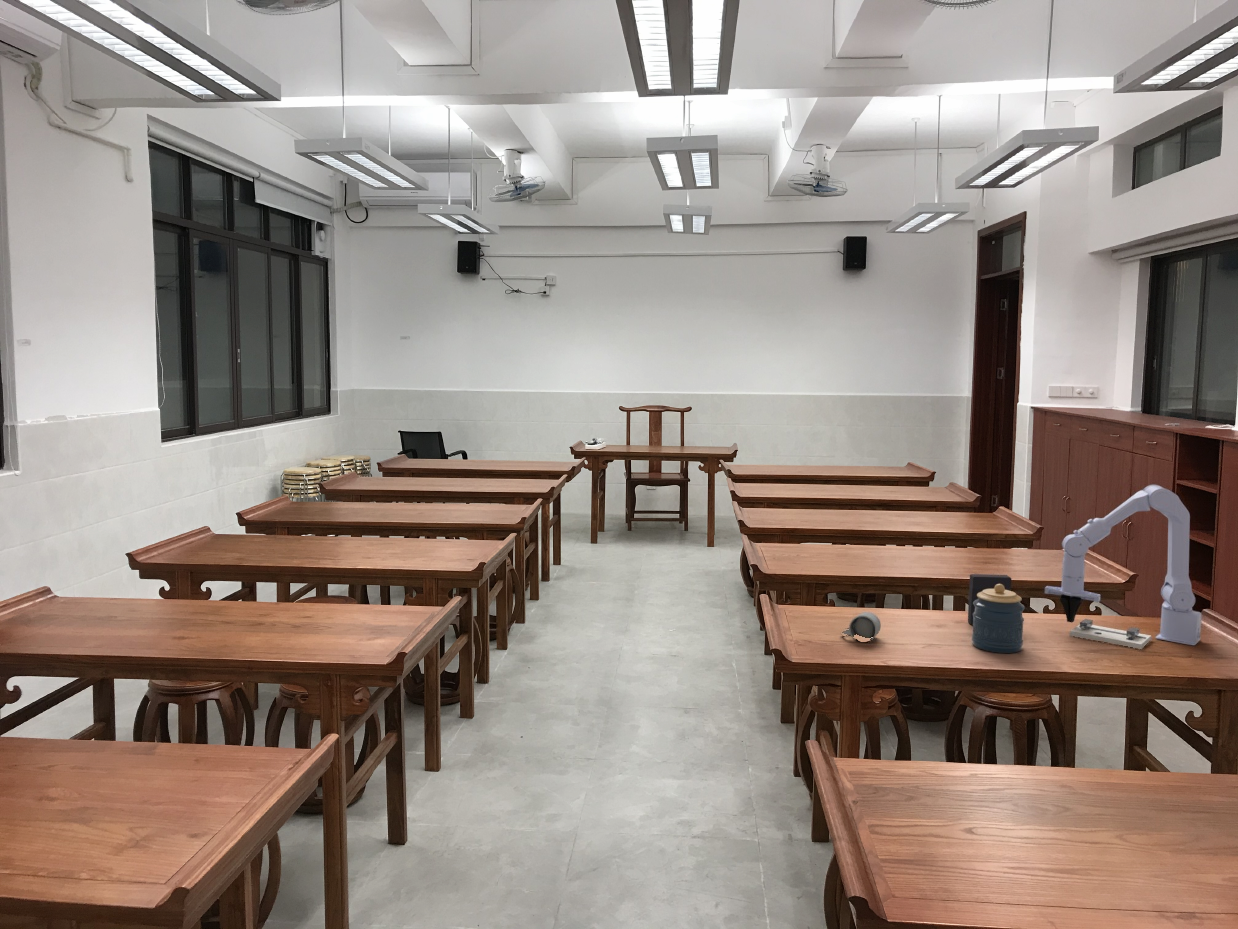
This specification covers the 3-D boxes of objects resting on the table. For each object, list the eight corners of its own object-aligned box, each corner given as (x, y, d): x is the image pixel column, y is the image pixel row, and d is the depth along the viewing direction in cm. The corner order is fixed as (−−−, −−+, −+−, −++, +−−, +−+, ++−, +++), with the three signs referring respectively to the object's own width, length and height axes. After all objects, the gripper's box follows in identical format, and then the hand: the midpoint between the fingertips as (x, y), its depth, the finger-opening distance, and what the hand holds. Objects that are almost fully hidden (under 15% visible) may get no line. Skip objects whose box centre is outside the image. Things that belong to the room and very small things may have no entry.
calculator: (1004, 623, 264) (1006, 574, 262) (1009, 627, 260) (1011, 577, 258) (966, 621, 265) (968, 573, 263) (971, 626, 261) (973, 576, 259)
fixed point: (1139, 634, 246) (1139, 628, 246) (1133, 638, 242) (1133, 632, 242) (1131, 632, 247) (1131, 627, 247) (1125, 637, 243) (1125, 631, 243)
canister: (998, 656, 233) (1001, 591, 231) (961, 643, 244) (963, 581, 242) (1033, 650, 238) (1036, 587, 236) (995, 637, 250) (998, 576, 248)
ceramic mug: (881, 636, 250) (882, 610, 249) (876, 644, 243) (876, 617, 242) (844, 632, 255) (844, 606, 254) (837, 640, 247) (838, 613, 247)
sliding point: (1092, 625, 254) (1092, 620, 254) (1086, 629, 250) (1086, 624, 250) (1084, 624, 256) (1085, 618, 256) (1078, 628, 251) (1079, 622, 251)
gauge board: (1150, 640, 246) (1151, 634, 246) (1140, 649, 238) (1141, 643, 238) (1081, 627, 259) (1081, 622, 259) (1069, 636, 251) (1070, 630, 251)
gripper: (1042, 574, 257) (1039, 619, 258) (1096, 582, 247) (1093, 629, 248) (1050, 570, 262) (1047, 614, 263) (1103, 578, 252) (1100, 624, 253)
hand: (1070, 621), depth 256 cm, fingers closed
